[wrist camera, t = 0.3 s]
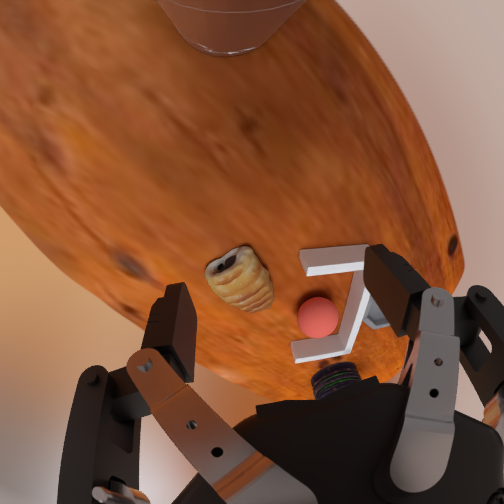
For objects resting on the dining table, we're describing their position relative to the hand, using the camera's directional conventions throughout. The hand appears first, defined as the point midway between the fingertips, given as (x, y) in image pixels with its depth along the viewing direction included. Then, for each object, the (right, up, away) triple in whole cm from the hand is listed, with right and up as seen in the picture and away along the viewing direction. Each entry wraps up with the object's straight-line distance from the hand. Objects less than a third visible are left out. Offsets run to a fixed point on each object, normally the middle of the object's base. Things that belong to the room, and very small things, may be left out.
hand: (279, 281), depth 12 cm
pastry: (-2, -1, +22) cm, 22 cm away
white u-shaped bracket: (+9, -6, +25) cm, 28 cm away
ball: (+7, -6, +25) cm, 27 cm away
